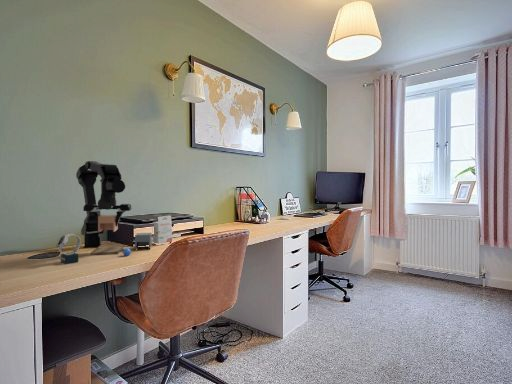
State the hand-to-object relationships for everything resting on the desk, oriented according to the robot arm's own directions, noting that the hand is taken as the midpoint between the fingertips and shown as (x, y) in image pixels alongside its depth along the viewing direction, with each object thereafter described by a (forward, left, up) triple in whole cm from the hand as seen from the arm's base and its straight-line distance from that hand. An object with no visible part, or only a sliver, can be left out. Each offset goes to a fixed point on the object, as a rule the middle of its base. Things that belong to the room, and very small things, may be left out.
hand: (108, 226), depth 131 cm
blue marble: (+10, -10, -10) cm, 17 cm away
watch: (-10, -16, -12) cm, 22 cm away
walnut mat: (0, 0, -12) cm, 12 cm away
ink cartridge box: (+23, +14, -12) cm, 29 cm away
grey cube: (+15, +4, -12) cm, 19 cm away
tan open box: (0, 0, -2) cm, 2 cm away
